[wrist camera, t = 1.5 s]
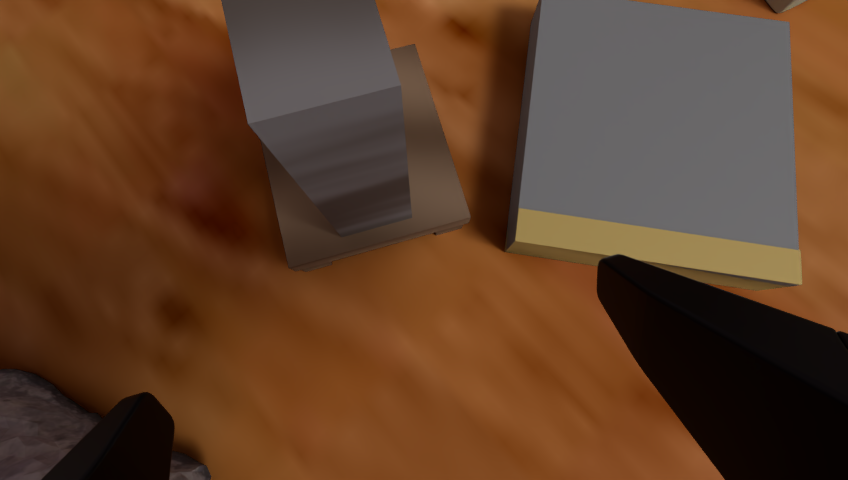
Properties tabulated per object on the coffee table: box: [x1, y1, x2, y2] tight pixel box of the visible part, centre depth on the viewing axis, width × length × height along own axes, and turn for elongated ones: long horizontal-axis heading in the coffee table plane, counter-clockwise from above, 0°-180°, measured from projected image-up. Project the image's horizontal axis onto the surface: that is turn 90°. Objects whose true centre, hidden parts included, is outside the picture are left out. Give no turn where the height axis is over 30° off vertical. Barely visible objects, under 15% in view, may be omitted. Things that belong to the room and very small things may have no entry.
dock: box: [504, 0, 802, 291], centre depth 22 cm, size 14×13×3 cm
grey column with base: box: [221, 0, 471, 272], centre depth 17 cm, size 10×9×13 cm
